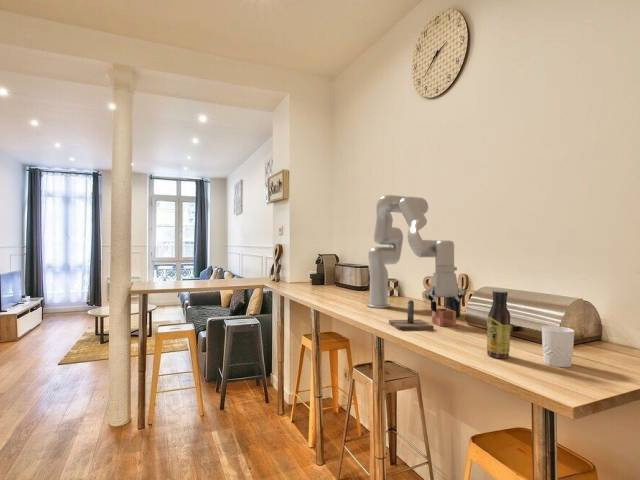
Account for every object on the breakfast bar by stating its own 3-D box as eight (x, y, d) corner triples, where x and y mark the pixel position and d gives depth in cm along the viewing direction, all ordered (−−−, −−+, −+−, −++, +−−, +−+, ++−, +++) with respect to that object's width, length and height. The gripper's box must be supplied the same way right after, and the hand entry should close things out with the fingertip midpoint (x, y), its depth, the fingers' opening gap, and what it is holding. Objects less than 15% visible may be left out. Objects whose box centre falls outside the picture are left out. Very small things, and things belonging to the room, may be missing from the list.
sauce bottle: (483, 352, 114) (484, 289, 114) (503, 353, 114) (504, 289, 114) (492, 359, 108) (493, 291, 108) (514, 360, 108) (514, 292, 108)
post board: (388, 323, 153) (389, 298, 154) (420, 323, 156) (420, 297, 156) (399, 330, 142) (399, 302, 142) (433, 329, 144) (433, 302, 144)
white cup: (562, 369, 100) (562, 333, 100) (535, 361, 107) (535, 326, 107) (580, 366, 103) (580, 330, 103) (552, 358, 110) (553, 324, 110)
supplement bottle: (444, 316, 170) (444, 290, 170) (445, 314, 176) (445, 289, 177) (460, 318, 168) (460, 291, 168) (460, 315, 174) (461, 290, 174)
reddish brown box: (432, 322, 157) (432, 308, 157) (447, 322, 158) (447, 308, 158) (439, 326, 150) (440, 311, 150) (455, 325, 151) (455, 311, 151)
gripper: (459, 269, 159) (459, 308, 159) (421, 269, 156) (421, 309, 156) (468, 270, 152) (468, 311, 151) (429, 270, 149) (429, 312, 149)
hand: (444, 310), depth 154 cm, fingers open, 9 cm apart
